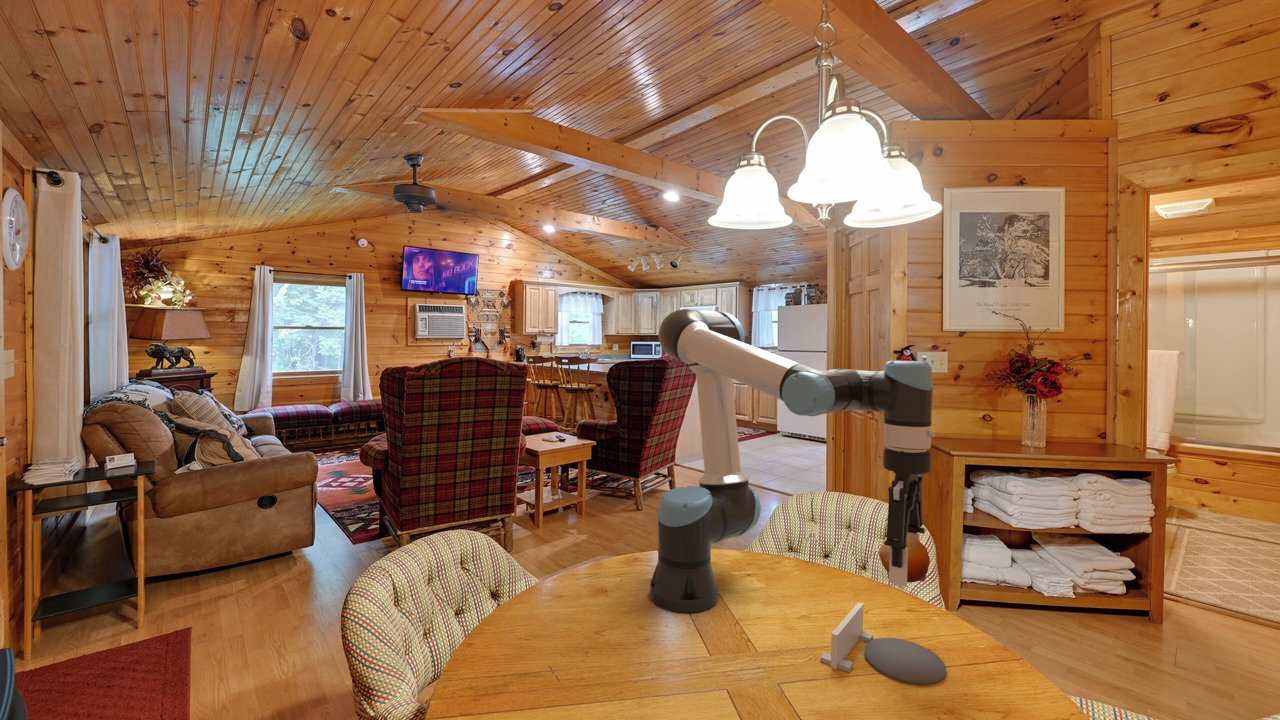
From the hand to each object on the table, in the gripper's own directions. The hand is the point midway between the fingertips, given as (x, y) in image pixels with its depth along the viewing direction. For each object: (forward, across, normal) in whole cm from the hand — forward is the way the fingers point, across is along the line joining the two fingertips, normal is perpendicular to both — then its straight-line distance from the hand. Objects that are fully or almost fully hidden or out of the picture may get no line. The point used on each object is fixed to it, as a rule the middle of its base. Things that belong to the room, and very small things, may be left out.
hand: (904, 575), depth 96 cm
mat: (+16, 0, 0) cm, 16 cm away
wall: (+16, -2, +9) cm, 18 cm away
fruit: (0, 0, 0) cm, 0 cm away
